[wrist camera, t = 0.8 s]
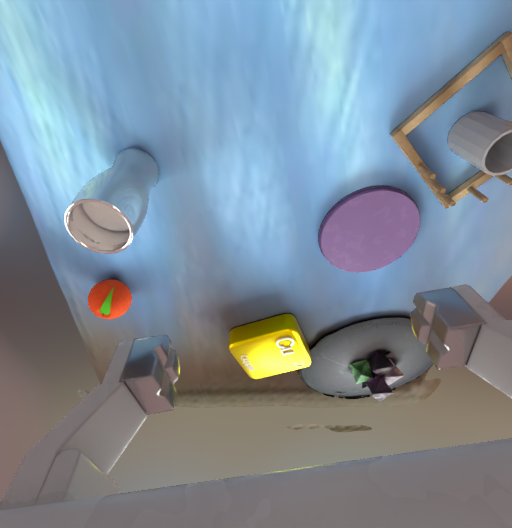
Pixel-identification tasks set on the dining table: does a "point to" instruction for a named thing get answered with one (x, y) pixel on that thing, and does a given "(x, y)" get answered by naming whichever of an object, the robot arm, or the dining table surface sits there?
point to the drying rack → (506, 45)
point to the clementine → (109, 299)
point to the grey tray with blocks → (366, 360)
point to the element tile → (270, 346)
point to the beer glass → (113, 203)
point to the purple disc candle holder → (369, 229)
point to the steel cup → (483, 142)
